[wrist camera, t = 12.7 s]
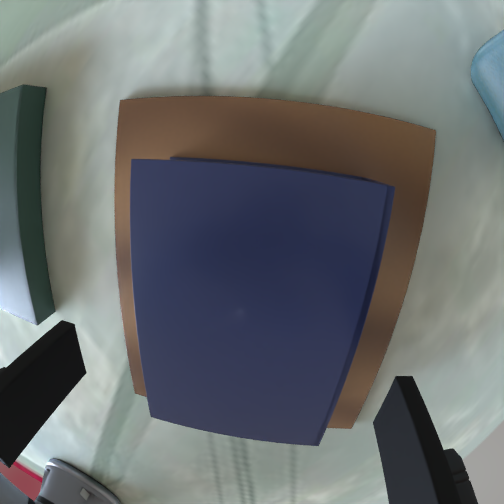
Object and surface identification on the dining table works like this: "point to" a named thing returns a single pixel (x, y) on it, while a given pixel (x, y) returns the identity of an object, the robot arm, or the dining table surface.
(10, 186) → the green notebook
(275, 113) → the brown wooden board
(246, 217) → the navy book
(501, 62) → the flower pot
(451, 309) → the dining table surface
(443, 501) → the robot arm
